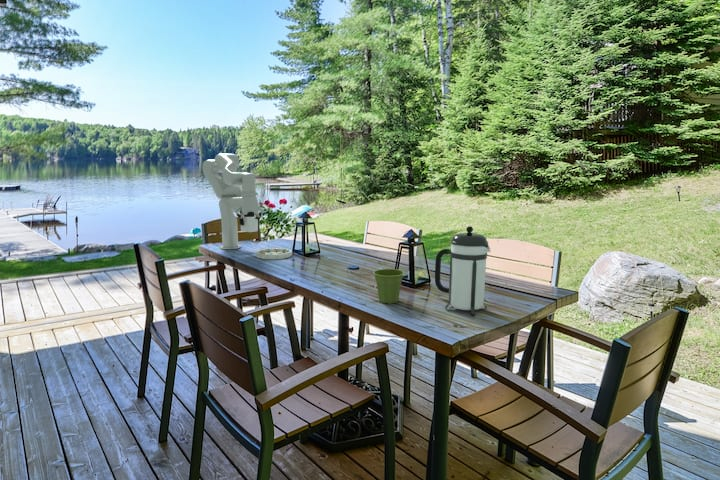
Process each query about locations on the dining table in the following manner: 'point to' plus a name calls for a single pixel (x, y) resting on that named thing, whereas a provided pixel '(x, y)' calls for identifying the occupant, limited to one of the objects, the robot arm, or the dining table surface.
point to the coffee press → (465, 271)
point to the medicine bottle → (249, 223)
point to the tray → (273, 253)
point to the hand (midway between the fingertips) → (249, 224)
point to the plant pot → (388, 284)
